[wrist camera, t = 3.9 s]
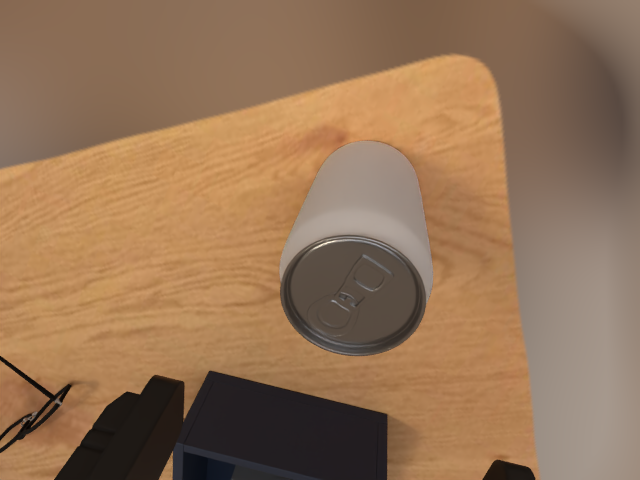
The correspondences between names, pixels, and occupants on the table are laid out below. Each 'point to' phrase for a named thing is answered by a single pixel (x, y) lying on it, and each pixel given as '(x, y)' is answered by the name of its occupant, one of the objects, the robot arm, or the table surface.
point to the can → (358, 253)
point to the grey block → (254, 474)
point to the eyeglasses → (27, 426)
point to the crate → (277, 435)
